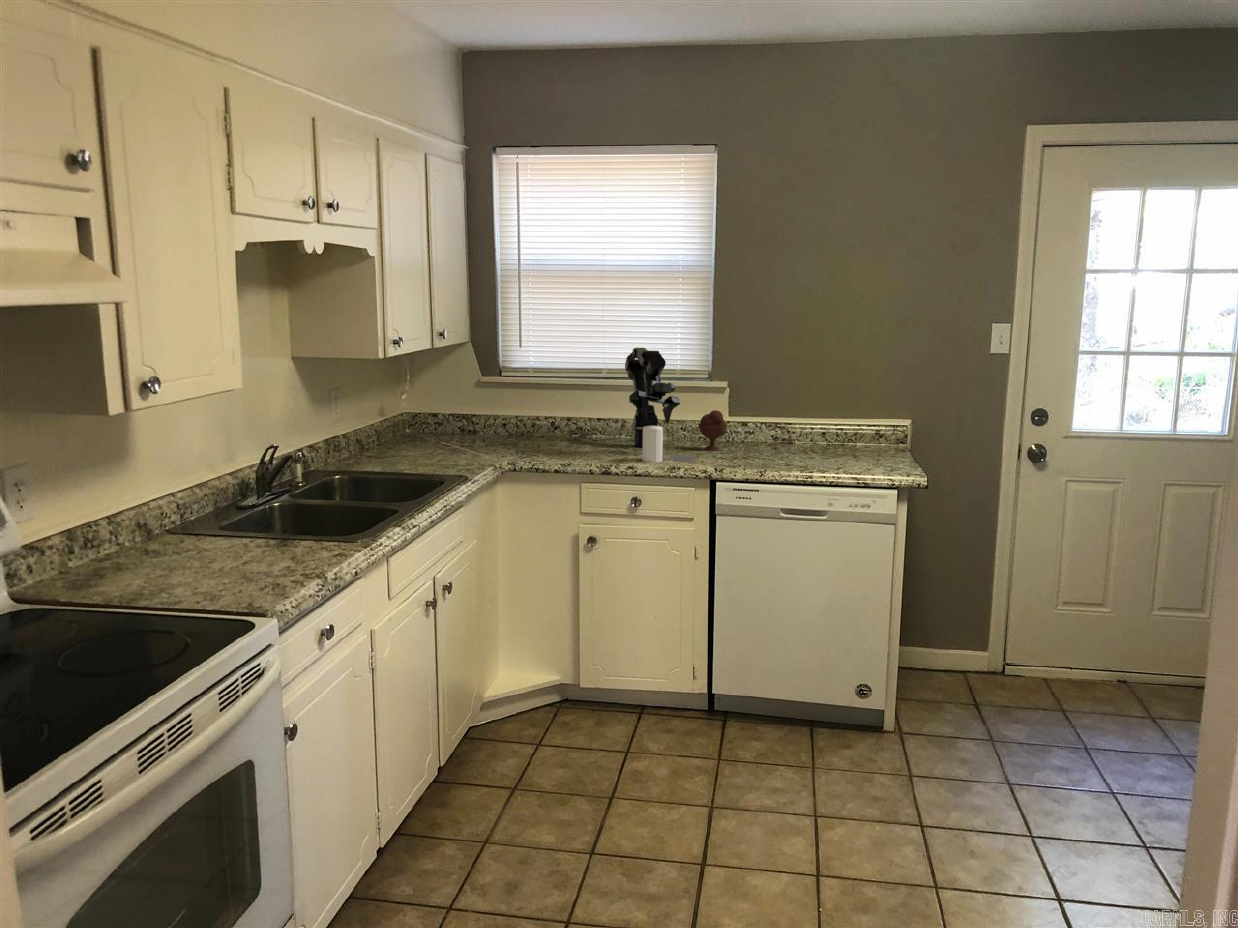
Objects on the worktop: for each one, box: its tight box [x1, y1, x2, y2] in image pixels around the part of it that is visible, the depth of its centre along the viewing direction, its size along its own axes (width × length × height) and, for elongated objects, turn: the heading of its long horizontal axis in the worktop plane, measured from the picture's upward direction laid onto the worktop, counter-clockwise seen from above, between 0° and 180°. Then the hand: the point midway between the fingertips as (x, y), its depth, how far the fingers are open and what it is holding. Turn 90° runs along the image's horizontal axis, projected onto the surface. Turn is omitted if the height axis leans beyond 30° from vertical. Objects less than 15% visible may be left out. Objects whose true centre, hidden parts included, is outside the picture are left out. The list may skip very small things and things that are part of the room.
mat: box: [664, 454, 700, 463], centre depth 332 cm, size 9×9×1 cm
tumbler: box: [641, 425, 664, 463], centre depth 327 cm, size 7×7×12 cm
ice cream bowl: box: [698, 409, 728, 452], centre depth 352 cm, size 11×11×15 cm
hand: (657, 421), depth 335 cm, fingers open, 9 cm apart
